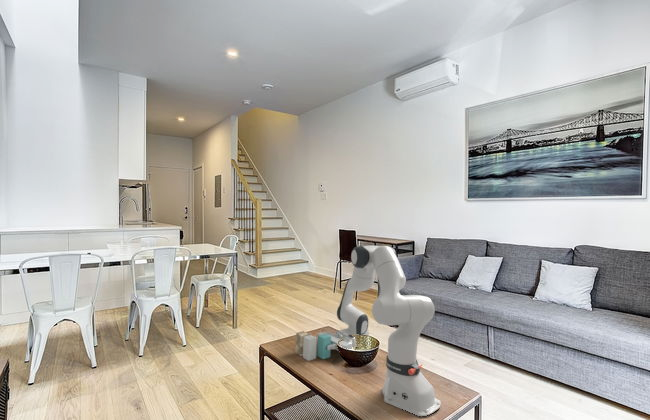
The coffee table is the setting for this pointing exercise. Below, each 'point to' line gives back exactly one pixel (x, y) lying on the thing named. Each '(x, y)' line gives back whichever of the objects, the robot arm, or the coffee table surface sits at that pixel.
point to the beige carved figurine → (300, 342)
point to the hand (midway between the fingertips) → (322, 345)
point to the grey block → (309, 347)
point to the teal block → (323, 346)
